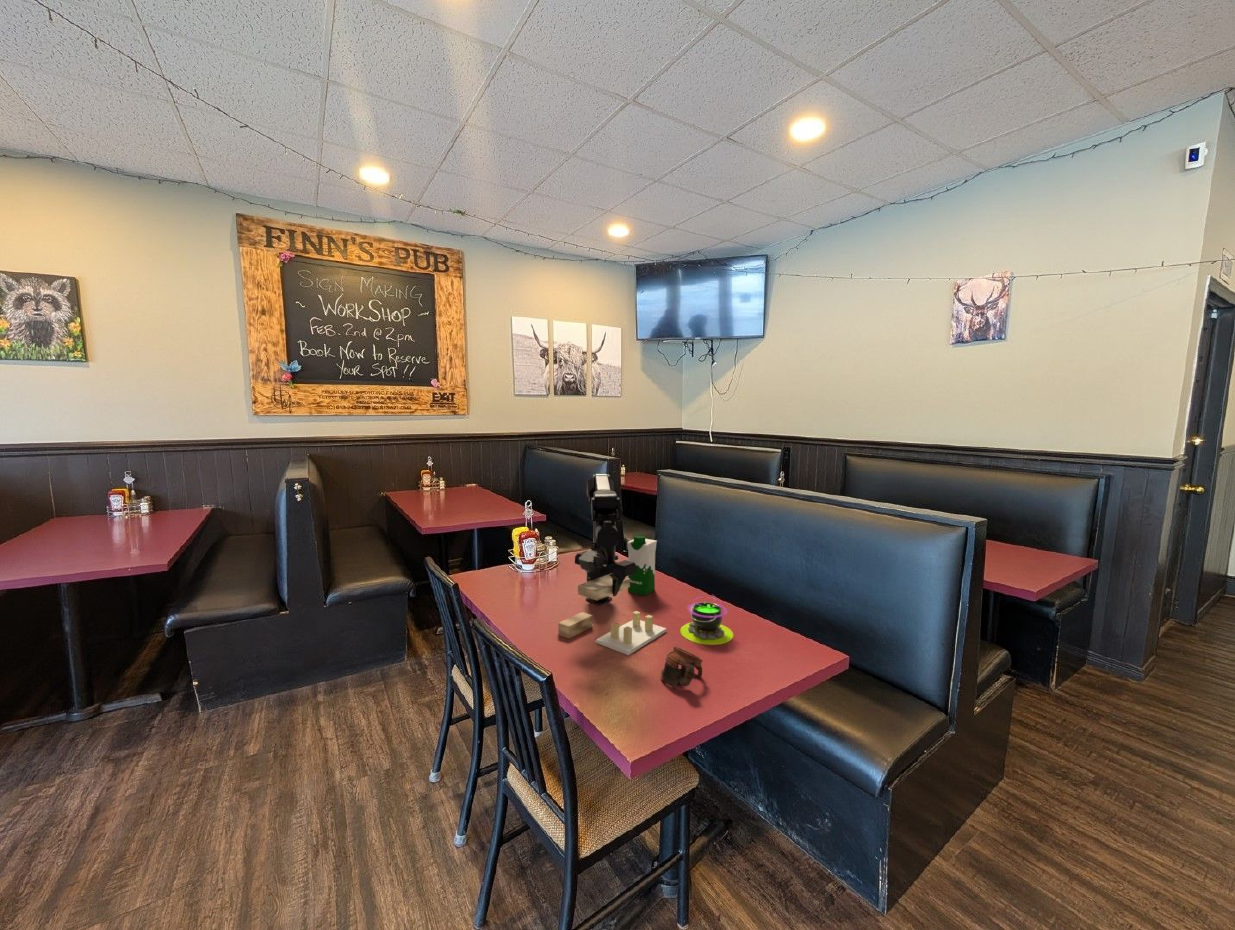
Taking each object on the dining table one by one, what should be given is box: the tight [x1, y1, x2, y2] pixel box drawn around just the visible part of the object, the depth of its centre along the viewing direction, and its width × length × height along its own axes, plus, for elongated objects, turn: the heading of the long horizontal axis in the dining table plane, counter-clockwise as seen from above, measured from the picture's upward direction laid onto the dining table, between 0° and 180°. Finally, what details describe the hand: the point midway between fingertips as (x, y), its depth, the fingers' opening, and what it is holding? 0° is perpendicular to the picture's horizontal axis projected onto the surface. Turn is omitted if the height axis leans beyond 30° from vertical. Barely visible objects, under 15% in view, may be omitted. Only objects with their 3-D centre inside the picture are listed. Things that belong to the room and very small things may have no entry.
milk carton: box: [627, 534, 658, 597], centre depth 176 cm, size 9×9×20 cm
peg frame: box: [595, 610, 667, 656], centre depth 141 cm, size 18×11×5 cm, turn 142°
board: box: [577, 573, 630, 601], centre depth 141 cm, size 14×7×2 cm, turn 140°
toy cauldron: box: [679, 593, 734, 646], centre depth 144 cm, size 15×15×11 cm
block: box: [557, 611, 594, 640], centre depth 145 cm, size 10×4×4 cm, turn 142°
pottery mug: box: [660, 646, 703, 689], centre depth 119 cm, size 12×10×8 cm
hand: (604, 592), depth 142 cm, fingers closed on board, 7 cm apart
